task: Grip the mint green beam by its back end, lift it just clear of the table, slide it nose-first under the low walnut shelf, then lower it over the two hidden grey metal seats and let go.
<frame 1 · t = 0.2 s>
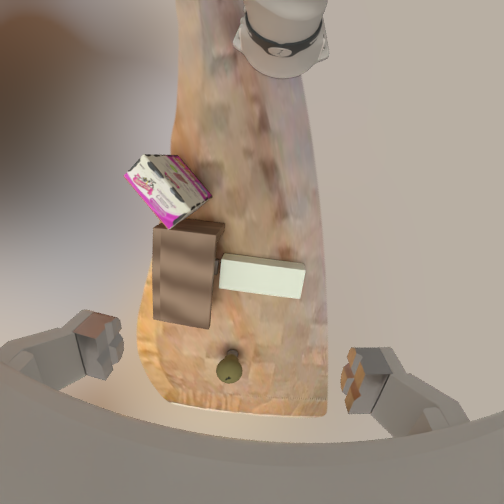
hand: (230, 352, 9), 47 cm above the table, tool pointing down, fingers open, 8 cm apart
light bulb: (233, 351, 65), on the table
mint green beam: (262, 272, 59), on the table
candy bar box: (186, 183, 55), on the table
walnut shelf: (223, 266, 59), on the table
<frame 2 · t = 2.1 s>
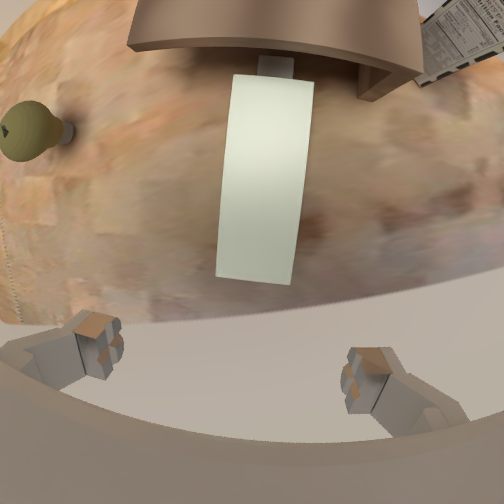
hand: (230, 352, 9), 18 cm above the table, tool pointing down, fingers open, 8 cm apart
light bulb: (71, 133, 24), on the table
mint green beam: (264, 177, 25), on the table
candy bar box: (432, 49, 19), on the table
walnut shelf: (273, 90, 22), on the table
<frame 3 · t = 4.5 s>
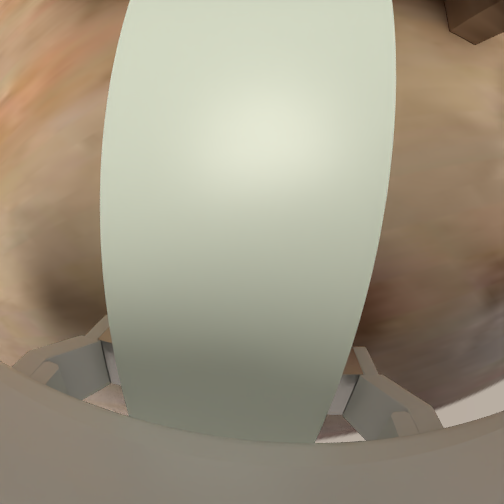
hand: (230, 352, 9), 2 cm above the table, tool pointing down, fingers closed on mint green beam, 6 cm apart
mint green beam: (248, 195, 9), on the table, touching gripper
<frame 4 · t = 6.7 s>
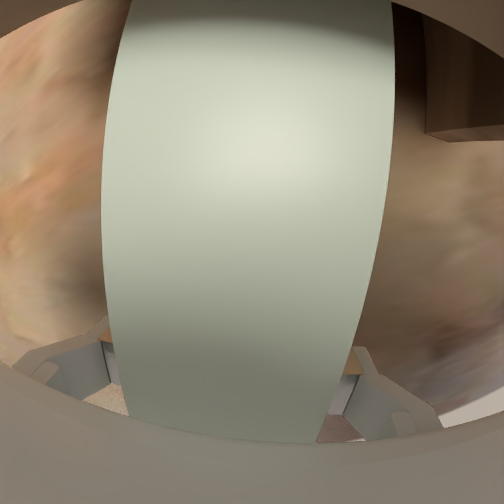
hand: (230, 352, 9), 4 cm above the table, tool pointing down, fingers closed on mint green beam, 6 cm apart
mint green beam: (248, 196, 9), point 2 cm above the table, touching gripper
walnut shelf: (259, 110, 11), on the table
when the fingers open (2 cm above the table, at t = 9.1 s): mint green beam stays where it is, on the table.
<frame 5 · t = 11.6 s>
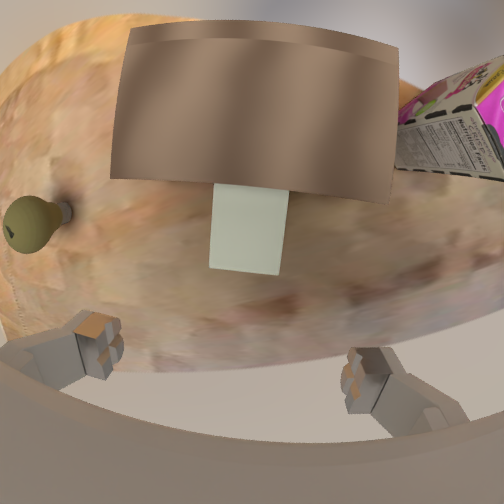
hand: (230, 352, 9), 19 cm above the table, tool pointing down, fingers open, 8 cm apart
light bulb: (69, 211, 28), on the table
mint green beam: (254, 175, 26), on the table
candy bar box: (416, 122, 24), on the table
walnut shelf: (252, 184, 26), on the table
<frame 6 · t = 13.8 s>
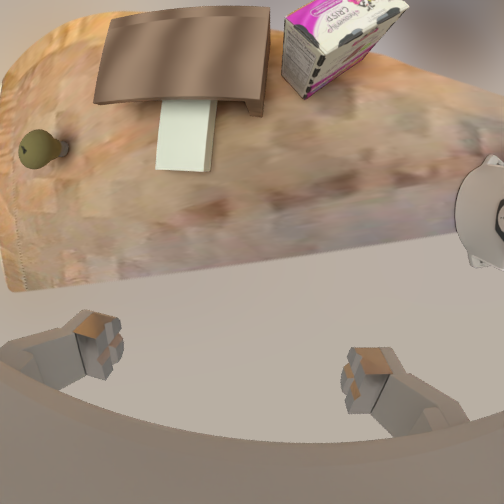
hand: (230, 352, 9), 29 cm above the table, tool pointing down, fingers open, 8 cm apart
light bulb: (66, 148, 36), on the table
mint green beam: (193, 110, 34), on the table
candy bar box: (321, 66, 31), on the table
walnut shelf: (192, 116, 34), on the table
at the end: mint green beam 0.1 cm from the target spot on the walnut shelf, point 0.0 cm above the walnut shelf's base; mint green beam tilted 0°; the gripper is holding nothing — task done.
